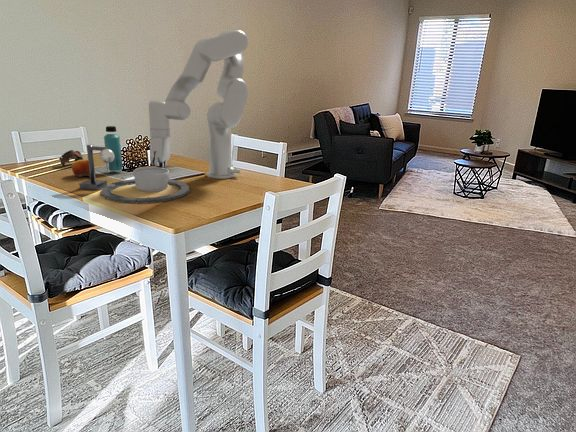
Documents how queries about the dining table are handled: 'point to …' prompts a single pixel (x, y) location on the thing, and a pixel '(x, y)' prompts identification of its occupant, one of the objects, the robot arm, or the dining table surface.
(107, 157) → the dial gauge stand
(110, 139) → the beverage bottle
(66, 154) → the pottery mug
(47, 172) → the dining table surface
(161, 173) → the ramekin
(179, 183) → the ring
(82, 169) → the fruit
